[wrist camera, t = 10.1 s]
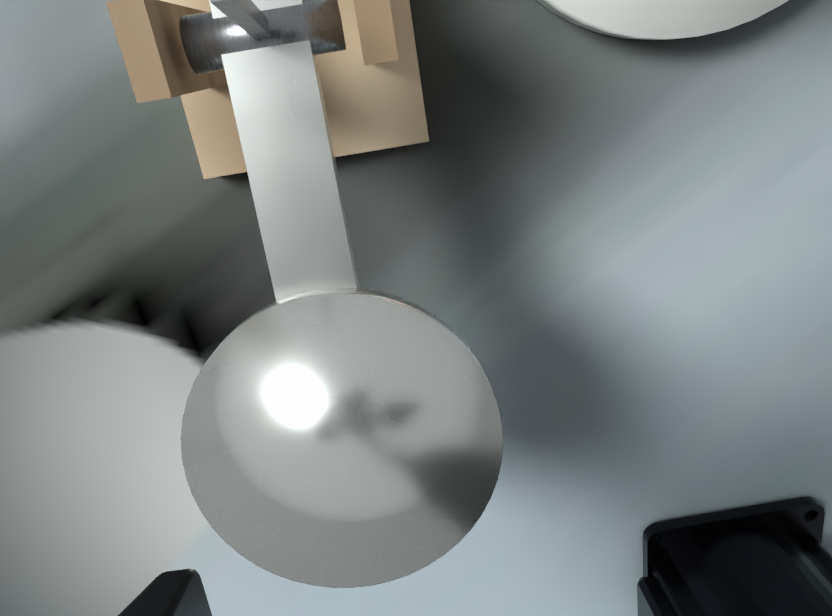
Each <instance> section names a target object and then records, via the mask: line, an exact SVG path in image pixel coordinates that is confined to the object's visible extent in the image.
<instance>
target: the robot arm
mask: <svg viewBox="0 0 832 616" xmlns="http://www.w3.org/2000/svg"><path fill="white" fill-rule="evenodd" d="M824 514H825V512H824V509H823V507H822V506H821V505H820V504H819V503H818V502H817V501H816V500H815V499H813V498H811V497H804V498H798V499H792V500H786V501H781V502H775V503H769V504H763V505H757V506H752V507H746V508H740V509H734V510H728V511H723V512H717V513H711V514H705V515H700V516H694V517H688V518H682V519H676V520H671V521H665V522H659V523H655V524H652V525H650V526H648V527H647V528H646V529H645V531H644V533H643V577H641V578H640V580H639V582H638V584H637V593H638V616H832V556H831V554H830V553H829V552H828V551H827V550H826V549H825V548H824V547H823V546H822V545H821V539H822V530H823V522H824ZM659 536H661V537H660V538H658V539H656V538H657V537H659ZM118 616H212V614H211V611H210V607H209V604H208V601H207V597H206V594H205V591H204V587H203V584H202V581H201V578H200V575H199V574H198V572H197V571H196V570H194V569H183V570H175V571H167V572H164V573H162V574H160V575H159V576H158V577H156V578H155V579H154V580H153V581H152V582H151V583H150V584H149V585H148V586H147V587H146V588H145V589H144V590H143V591H142V592H141V593H140V594H139V595H138V596H137V597H136V598H135V599H134V600H133V601H132V602H131V603H130V604H129V605H128V606H127V607H126V608H125V609H124V610H123V611H122V612H121V613H120V614H119V615H118Z"/></svg>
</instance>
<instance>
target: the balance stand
mask: <svg viewBox="0 0 832 616" xmlns="http://www.w3.org/2000/svg"><path fill="white" fill-rule="evenodd" d="M106 3H107V7H108V10H109V13H110V16H111V20H112V23H113V26H114V29H115V32H116V36H117V39H118V42H119V45H120V49H121V52H122V55H123V58H124V62H125V65H126V68H127V71H128V75H129V78H130V81H131V84H132V88H133V91H134V94H135V97H136V101H137V103H142V102H148V101H154V100H160V99H166V98H172V97H176V96H181V99H182V103H183V106H184V110H185V113H186V117H187V120H188V124H189V127H190V131H191V134H192V138H193V142H194V145H195V149H196V152H197V156H198V159H199V163H200V166H201V170H202V173H203V177H204V179H208V178H214V177H219V176H225V175H231V174H237V173H243V172H247V168H246V164H245V159H244V155H243V151H242V146H241V142H240V137H239V133H238V128H237V124H236V119H235V115H234V110H233V106H232V102H231V97H230V93H229V88H228V84H227V79H226V75H225V70H222V71H216V72H210V73H204V74H196V73H195V72H194V71H193V70H192V68H191V66H190V64H189V62H188V59H187V57H186V54H185V51H184V48H183V44H182V40H181V35H180V28H179V20H180V17H181V16H186V15H192V14H198V13H204V12H210V11H211V8H210V3H209V0H117V1H111V2H106ZM338 5H339V10H340V15H341V20H342V26H343V32H344V38H345V44H346V50H343V51H337V52H331V53H325V54H319V55H316V59H317V65H318V70H319V75H320V80H321V86H322V91H323V96H324V102H325V107H326V112H327V118H328V123H329V128H330V133H331V139H332V144H333V149H334V155H335V157H339V156H345V155H351V154H357V153H363V152H369V151H375V150H381V149H387V148H393V147H399V146H405V145H411V144H417V143H423V142H429V136H428V129H427V122H426V115H425V108H424V101H423V94H422V87H421V80H420V73H419V66H418V59H417V52H416V44H415V37H414V30H413V23H412V16H411V9H410V2H409V0H338Z"/></svg>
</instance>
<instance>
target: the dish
mask: <svg viewBox="0 0 832 616" xmlns="http://www.w3.org/2000/svg"><path fill="white" fill-rule="evenodd" d="M536 1H537V2H539V3H540V4H541V5H543V6H544V7H545V8H547V9H548V10H549V11H551V12H552V13H554V14H556V15H558V16H560V17H562V18H563V19H565V20H567V21H569V22H571V23H572V24H574V25H577V26H580V27H583V28H585V29H588V30H591V31H594V32H596V33H599V34H604V35H609V36H614V37H619V38H624V39H642V40H662V39H677V38H688V37H699V36H703V35H707V34H711V33H715V32H720V31H724V30H728V29H730V28H733V27H735V26H738V25H741V24H743V23H746V22H749V21H751V20H754V19H756V18H758V17H760V16H762V15H764V14H765V13H767V12H769V11H771V10H773V9H775V8H777V7H779V6H780V5H782V4H784V3H785V2H787V1H788V0H536Z"/></svg>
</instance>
